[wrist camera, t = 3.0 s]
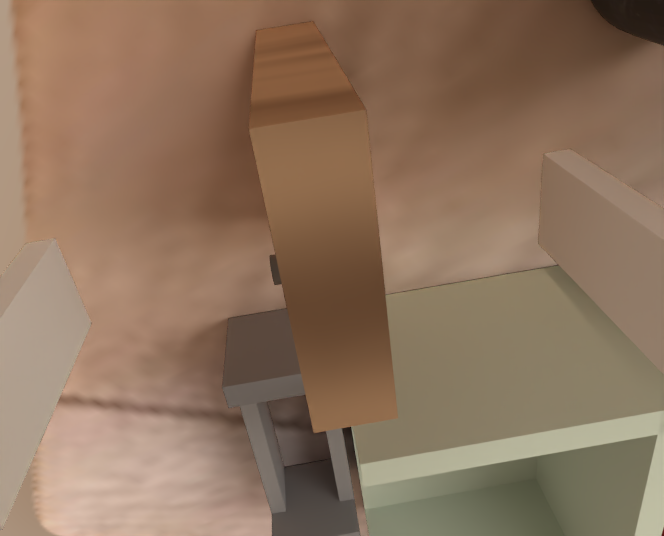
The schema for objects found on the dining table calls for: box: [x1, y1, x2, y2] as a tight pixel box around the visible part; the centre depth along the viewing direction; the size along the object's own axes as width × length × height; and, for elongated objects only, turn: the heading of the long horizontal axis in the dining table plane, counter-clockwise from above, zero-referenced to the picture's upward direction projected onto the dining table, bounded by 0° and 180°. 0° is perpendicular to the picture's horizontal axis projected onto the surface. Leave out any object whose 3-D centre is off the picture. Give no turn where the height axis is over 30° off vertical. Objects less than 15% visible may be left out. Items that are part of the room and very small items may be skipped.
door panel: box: [249, 21, 398, 433], centre depth 18 cm, size 8×3×13 cm, turn 8°
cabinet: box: [222, 265, 664, 536], centre depth 28 cm, size 16×17×10 cm
